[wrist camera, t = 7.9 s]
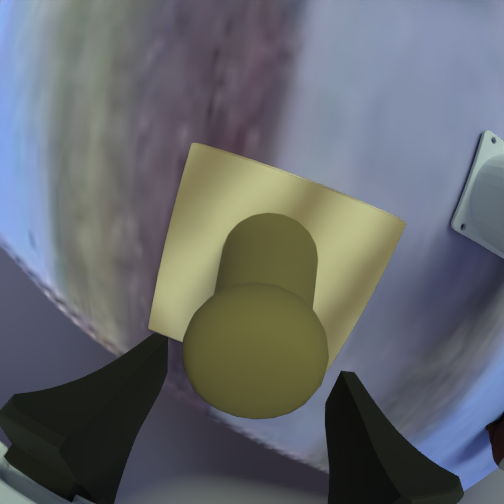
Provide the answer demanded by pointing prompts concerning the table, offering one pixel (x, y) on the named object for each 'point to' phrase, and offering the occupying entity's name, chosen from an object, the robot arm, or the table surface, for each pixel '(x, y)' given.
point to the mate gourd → (497, 441)
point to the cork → (259, 323)
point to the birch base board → (279, 202)
